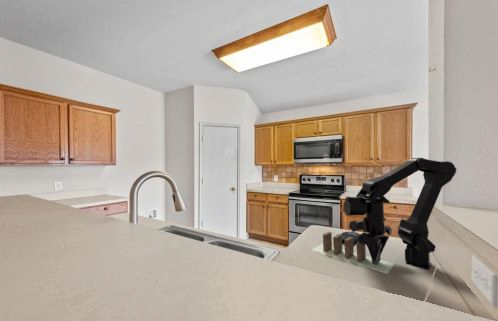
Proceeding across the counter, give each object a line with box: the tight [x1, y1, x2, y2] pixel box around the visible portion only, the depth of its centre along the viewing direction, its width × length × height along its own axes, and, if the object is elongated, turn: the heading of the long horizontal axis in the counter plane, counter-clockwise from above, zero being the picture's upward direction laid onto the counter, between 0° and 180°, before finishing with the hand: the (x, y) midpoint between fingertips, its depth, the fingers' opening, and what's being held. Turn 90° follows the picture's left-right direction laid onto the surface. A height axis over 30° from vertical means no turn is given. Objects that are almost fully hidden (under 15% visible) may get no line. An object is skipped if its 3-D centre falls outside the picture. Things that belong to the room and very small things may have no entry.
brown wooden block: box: [356, 241, 367, 262], centre depth 79 cm, size 1×5×7 cm, turn 133°
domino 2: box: [332, 233, 343, 255], centre depth 86 cm, size 1×5×7 cm, turn 133°
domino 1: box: [322, 231, 333, 252], centre depth 89 cm, size 1×5×7 cm, turn 133°
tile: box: [372, 251, 381, 265], centre depth 76 cm, size 1×5×7 cm, turn 133°
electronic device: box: [340, 231, 361, 245], centre depth 101 cm, size 9×6×15 cm
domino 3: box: [343, 237, 355, 259], centre depth 83 cm, size 1×5×7 cm, turn 133°
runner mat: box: [311, 243, 395, 275], centre depth 82 cm, size 28×10×1 cm, turn 43°
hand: (376, 257), depth 76 cm, fingers closed on tile, 5 cm apart
